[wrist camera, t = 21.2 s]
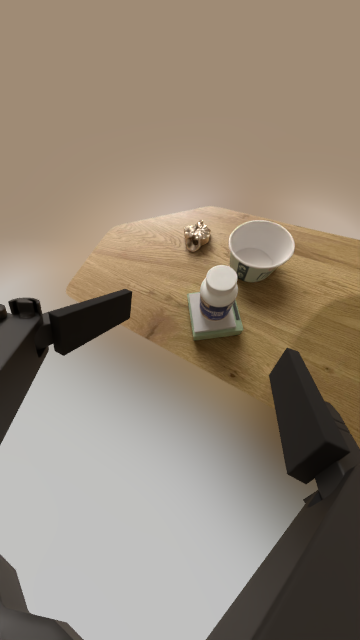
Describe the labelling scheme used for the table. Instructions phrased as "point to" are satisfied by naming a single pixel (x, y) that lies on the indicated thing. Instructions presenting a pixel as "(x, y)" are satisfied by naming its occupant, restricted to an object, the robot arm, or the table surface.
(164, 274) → the table surface
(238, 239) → the food container
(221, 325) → the scale
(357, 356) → the table surface
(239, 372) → the table surface
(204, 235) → the ornament
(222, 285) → the pill bottle
